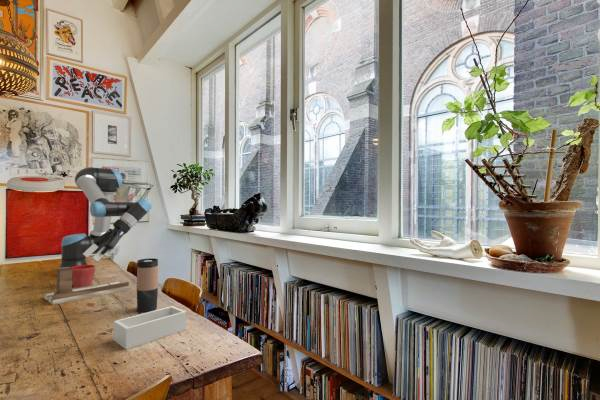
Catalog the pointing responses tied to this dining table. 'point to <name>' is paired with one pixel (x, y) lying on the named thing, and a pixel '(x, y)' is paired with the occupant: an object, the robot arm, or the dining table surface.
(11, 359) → the dining table surface
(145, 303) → the travel mug
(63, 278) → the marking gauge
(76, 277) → the flower pot
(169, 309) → the white rectangular planter box
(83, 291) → the birch board
